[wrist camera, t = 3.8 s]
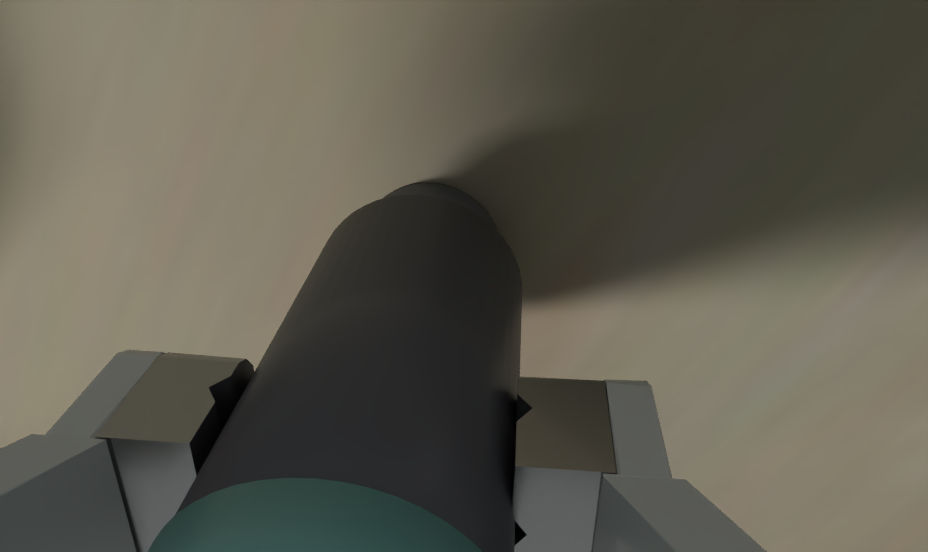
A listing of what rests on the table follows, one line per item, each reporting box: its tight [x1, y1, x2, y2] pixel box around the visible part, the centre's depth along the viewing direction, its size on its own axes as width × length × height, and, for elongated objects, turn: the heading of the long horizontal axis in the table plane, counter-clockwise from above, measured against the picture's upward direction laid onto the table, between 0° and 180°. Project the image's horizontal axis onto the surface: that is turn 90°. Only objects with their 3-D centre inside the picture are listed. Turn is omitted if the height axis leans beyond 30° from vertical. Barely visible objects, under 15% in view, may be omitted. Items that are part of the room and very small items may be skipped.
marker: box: [148, 183, 522, 552], centre depth 9 cm, size 3×3×9 cm
